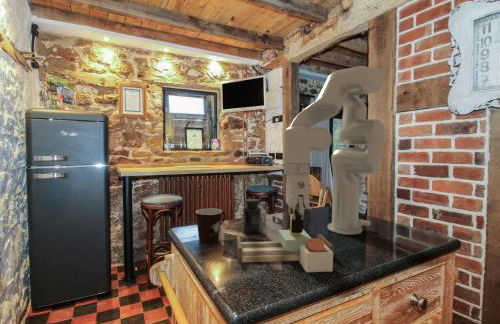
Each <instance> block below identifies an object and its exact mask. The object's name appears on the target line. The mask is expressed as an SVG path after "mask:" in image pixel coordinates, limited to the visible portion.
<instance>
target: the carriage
mask: <svg viewBox="0 0 500 324" xmlns="http://www.w3.org/2000/svg"><path fill="white" fill-rule="evenodd" d="M289 216H290V229H279V230H278V241H280V243H281V244H282V246H283V248H284V250H285V251H289V250H300V245H304V244H308V240H309V239H312V238H313V237H311V236H310V235H309V234H308V233H307V231H305V229H303V232H302V233H292V232H291V224H292V219H293V214H290V215H289Z"/></svg>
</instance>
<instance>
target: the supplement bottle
mask: <svg viewBox="0 0 500 324" xmlns="http://www.w3.org/2000/svg"><path fill="white" fill-rule="evenodd" d="M244 203H245V206H244V207H243V208H242V231H243V233H244V234H246V235H256V234H257V235H258V234H260V233H261V231H262V209H261V207H260V206H259V199H257V198H248V199H247V198H246V199H245V201H244Z"/></svg>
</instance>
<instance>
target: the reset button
mask: <svg viewBox="0 0 500 324" xmlns="http://www.w3.org/2000/svg"><path fill="white" fill-rule="evenodd" d="M311 238H312V239H309V240H308V251H309V252H324V241H323V240H321V239H318V238H313V237H311Z"/></svg>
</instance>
